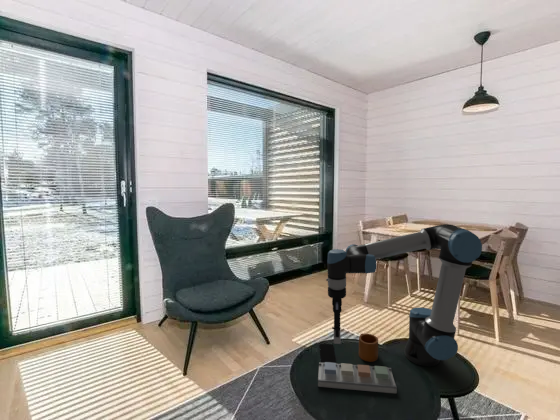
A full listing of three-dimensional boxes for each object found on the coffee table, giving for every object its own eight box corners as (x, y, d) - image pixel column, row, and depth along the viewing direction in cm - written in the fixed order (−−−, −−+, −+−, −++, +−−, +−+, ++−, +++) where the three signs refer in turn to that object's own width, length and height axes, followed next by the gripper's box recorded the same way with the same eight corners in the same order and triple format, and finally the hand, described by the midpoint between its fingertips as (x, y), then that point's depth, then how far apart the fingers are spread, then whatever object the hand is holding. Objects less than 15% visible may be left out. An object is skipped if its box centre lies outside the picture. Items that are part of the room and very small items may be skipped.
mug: (371, 346, 153) (372, 329, 152) (380, 361, 141) (381, 343, 140) (354, 346, 153) (354, 330, 151) (361, 362, 141) (362, 344, 140)
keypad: (390, 373, 133) (390, 367, 132) (396, 393, 121) (396, 387, 121) (319, 367, 138) (319, 361, 138) (318, 386, 126) (317, 380, 126)
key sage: (386, 370, 129) (386, 366, 129) (388, 378, 125) (388, 374, 124) (374, 370, 130) (374, 365, 130) (376, 377, 125) (376, 373, 125)
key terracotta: (369, 369, 130) (369, 365, 130) (370, 377, 126) (370, 372, 125) (357, 368, 131) (357, 364, 131) (358, 376, 127) (358, 371, 126)
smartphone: (320, 362, 141) (318, 343, 156) (320, 364, 141) (318, 345, 156) (336, 363, 140) (333, 344, 155) (336, 364, 141) (333, 345, 155)
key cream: (352, 368, 132) (352, 364, 131) (353, 375, 127) (353, 371, 127) (341, 367, 132) (341, 363, 132) (341, 374, 128) (341, 370, 127)
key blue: (335, 367, 133) (335, 362, 132) (336, 374, 128) (336, 370, 128) (324, 366, 134) (324, 361, 133) (324, 373, 129) (324, 369, 129)
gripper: (328, 275, 140) (329, 319, 143) (326, 299, 116) (327, 350, 119) (345, 276, 138) (345, 320, 141) (347, 300, 114) (347, 352, 117)
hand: (337, 334), depth 130 cm, fingers open, 13 cm apart
